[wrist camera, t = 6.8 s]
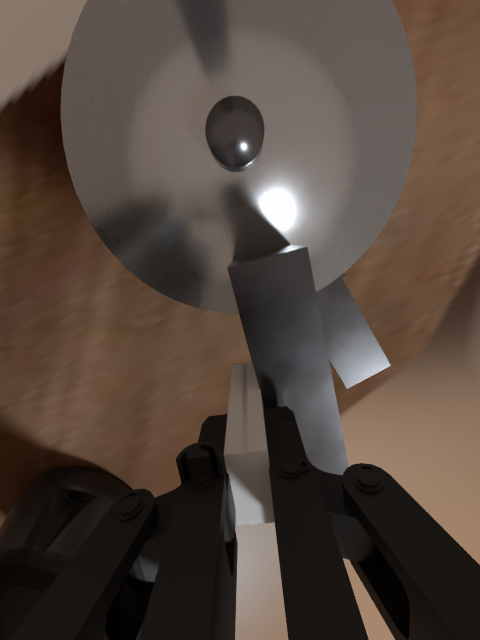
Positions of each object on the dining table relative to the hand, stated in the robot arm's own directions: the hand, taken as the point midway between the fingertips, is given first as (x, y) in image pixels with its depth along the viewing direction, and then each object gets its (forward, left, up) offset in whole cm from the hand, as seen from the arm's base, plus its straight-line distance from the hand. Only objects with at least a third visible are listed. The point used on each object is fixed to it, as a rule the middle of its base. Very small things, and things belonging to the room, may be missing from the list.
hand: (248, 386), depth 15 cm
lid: (+7, -5, -2) cm, 9 cm away
